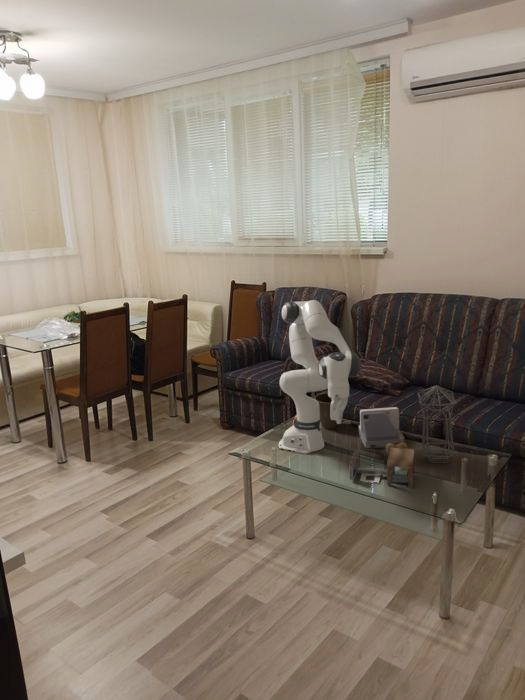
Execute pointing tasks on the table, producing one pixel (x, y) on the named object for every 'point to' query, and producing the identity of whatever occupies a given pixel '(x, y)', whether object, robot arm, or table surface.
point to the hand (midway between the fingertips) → (339, 422)
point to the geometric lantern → (441, 390)
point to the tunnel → (400, 462)
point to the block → (401, 471)
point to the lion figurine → (395, 446)
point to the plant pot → (325, 411)
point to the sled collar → (373, 471)
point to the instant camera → (380, 427)
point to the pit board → (370, 477)
